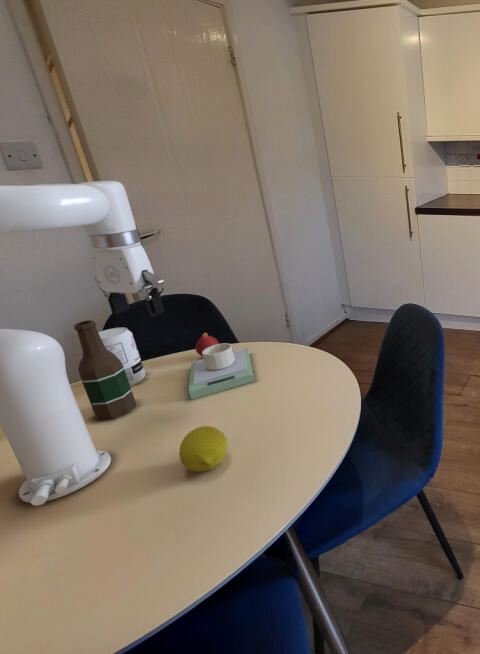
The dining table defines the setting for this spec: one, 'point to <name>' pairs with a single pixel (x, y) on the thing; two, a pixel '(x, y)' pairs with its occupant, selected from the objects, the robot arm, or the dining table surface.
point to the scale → (220, 375)
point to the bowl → (218, 356)
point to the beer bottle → (103, 375)
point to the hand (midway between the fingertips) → (139, 313)
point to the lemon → (203, 449)
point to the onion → (205, 343)
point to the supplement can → (124, 352)
